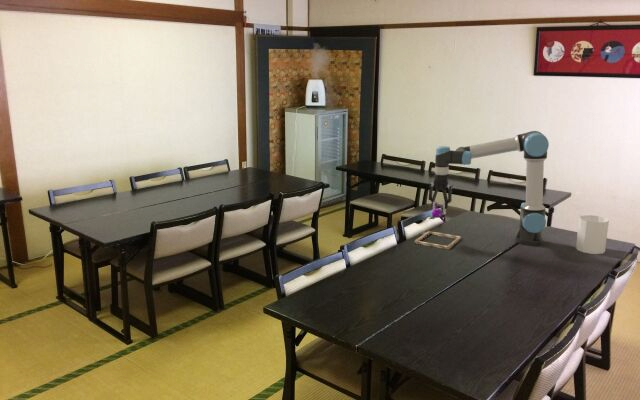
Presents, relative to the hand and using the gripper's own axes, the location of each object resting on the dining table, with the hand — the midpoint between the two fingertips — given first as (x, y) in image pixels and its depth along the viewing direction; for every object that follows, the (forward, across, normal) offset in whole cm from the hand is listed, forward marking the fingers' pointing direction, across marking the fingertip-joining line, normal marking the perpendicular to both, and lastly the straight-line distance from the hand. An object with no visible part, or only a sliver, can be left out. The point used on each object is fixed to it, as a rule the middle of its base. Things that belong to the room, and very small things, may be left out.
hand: (439, 213), depth 308 cm
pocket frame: (+17, +1, 0) cm, 17 cm away
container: (+17, -77, -30) cm, 85 cm away
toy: (+4, 0, +2) cm, 4 cm away
